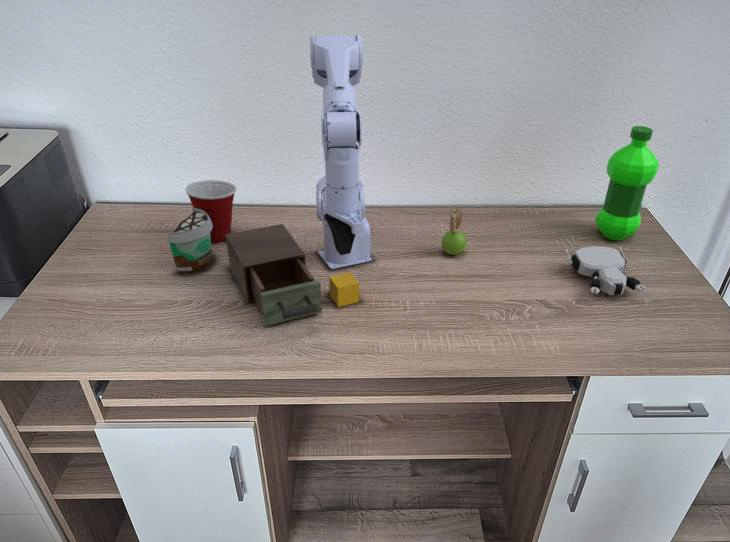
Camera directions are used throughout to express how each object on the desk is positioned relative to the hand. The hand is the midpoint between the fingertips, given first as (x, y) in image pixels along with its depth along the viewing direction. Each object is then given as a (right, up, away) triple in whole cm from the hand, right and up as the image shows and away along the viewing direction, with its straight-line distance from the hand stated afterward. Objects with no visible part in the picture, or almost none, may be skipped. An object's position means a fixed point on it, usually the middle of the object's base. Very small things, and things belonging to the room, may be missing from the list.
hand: (343, 252), depth 115 cm
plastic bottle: (+62, +7, +31) cm, 69 cm away
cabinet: (-16, -4, +11) cm, 20 cm away
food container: (-31, -1, +16) cm, 35 cm away
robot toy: (+53, -5, +14) cm, 55 cm away
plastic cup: (-30, +6, +26) cm, 40 cm away
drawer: (-11, -10, +2) cm, 15 cm away
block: (0, -8, +6) cm, 10 cm away
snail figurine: (+23, +2, +22) cm, 31 cm away
